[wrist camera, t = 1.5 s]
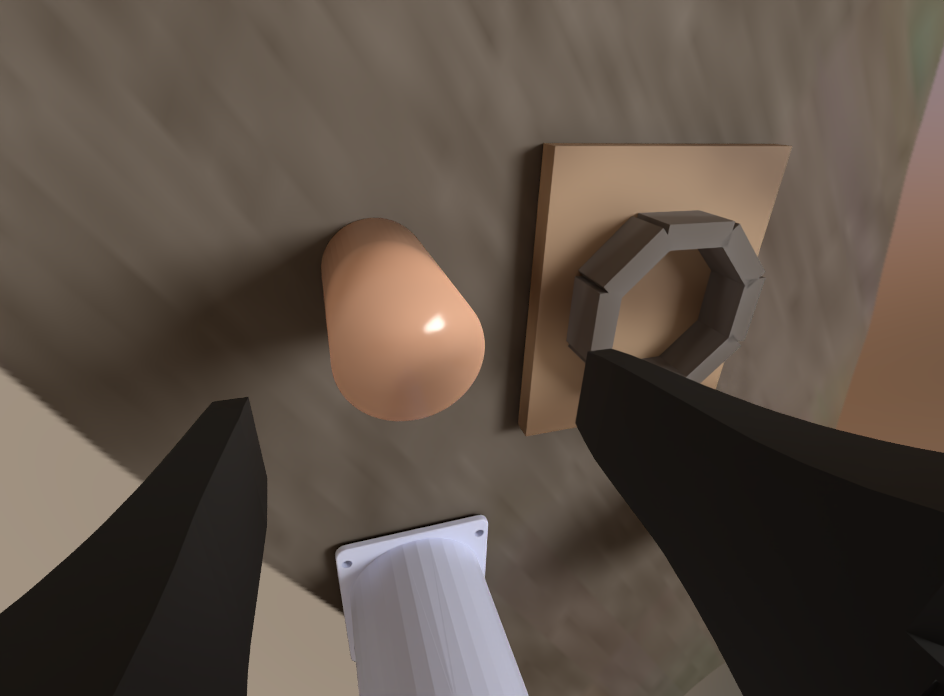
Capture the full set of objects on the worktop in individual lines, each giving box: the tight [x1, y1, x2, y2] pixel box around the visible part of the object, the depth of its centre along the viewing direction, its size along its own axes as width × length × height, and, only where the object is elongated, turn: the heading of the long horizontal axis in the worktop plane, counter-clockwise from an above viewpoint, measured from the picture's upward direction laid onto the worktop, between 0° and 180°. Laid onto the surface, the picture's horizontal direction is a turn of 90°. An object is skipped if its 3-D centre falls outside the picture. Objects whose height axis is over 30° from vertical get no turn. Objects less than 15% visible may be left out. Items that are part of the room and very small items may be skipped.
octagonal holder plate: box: [518, 143, 792, 436], centre depth 21 cm, size 13×11×3 cm
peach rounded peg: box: [321, 218, 485, 421], centre depth 15 cm, size 4×4×7 cm
